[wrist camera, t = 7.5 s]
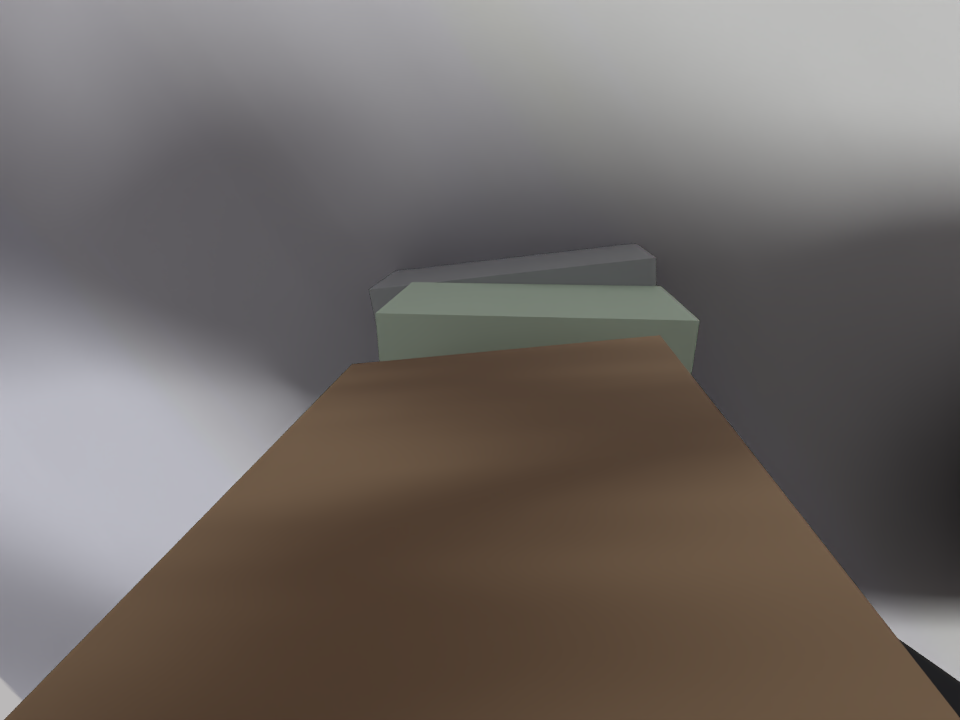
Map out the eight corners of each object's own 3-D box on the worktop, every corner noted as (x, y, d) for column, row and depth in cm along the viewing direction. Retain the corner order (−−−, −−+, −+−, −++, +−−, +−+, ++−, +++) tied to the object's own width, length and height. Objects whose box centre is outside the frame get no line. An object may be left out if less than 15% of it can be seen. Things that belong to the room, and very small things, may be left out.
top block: (661, 286, 12) (699, 320, 9) (634, 499, 14) (659, 581, 11) (412, 282, 12) (375, 313, 10) (423, 486, 14) (396, 561, 12)
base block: (632, 240, 14) (656, 257, 11) (637, 451, 17) (658, 508, 14) (399, 268, 15) (368, 289, 12) (435, 463, 18) (416, 517, 15)
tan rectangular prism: (660, 335, 8) (1409, 1294, 1) (664, 588, 9) (965, 1566, 3) (352, 364, 8) (-310, 1040, 2) (406, 594, 10) (162, 1383, 3)
